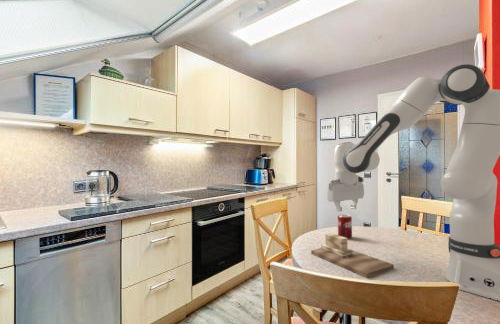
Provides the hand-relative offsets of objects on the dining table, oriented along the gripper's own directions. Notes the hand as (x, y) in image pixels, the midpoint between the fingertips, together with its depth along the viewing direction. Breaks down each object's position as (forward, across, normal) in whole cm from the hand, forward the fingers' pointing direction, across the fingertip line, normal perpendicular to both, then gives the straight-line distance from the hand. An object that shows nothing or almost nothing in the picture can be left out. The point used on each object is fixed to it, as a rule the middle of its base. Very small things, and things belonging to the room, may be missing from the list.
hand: (346, 210), depth 109 cm
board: (+20, -4, -4) cm, 21 cm away
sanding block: (+18, -4, +3) cm, 19 cm away
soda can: (+20, +21, +19) cm, 35 cm away
